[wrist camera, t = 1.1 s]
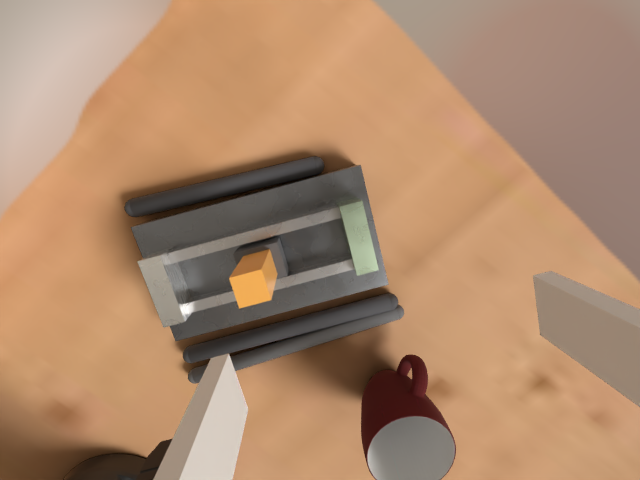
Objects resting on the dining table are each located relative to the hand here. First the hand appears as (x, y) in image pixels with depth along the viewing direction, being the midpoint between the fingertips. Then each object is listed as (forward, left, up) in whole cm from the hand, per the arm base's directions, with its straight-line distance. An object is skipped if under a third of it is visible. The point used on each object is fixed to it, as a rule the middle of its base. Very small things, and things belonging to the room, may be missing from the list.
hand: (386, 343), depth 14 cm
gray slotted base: (-7, 0, -23) cm, 24 cm away
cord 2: (-7, -10, -23) cm, 26 cm away
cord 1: (-9, +8, -23) cm, 26 cm away
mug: (+2, -18, -23) cm, 29 cm away
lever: (-7, 0, -19) cm, 21 cm away
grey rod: (-7, -8, -23) cm, 25 cm away
